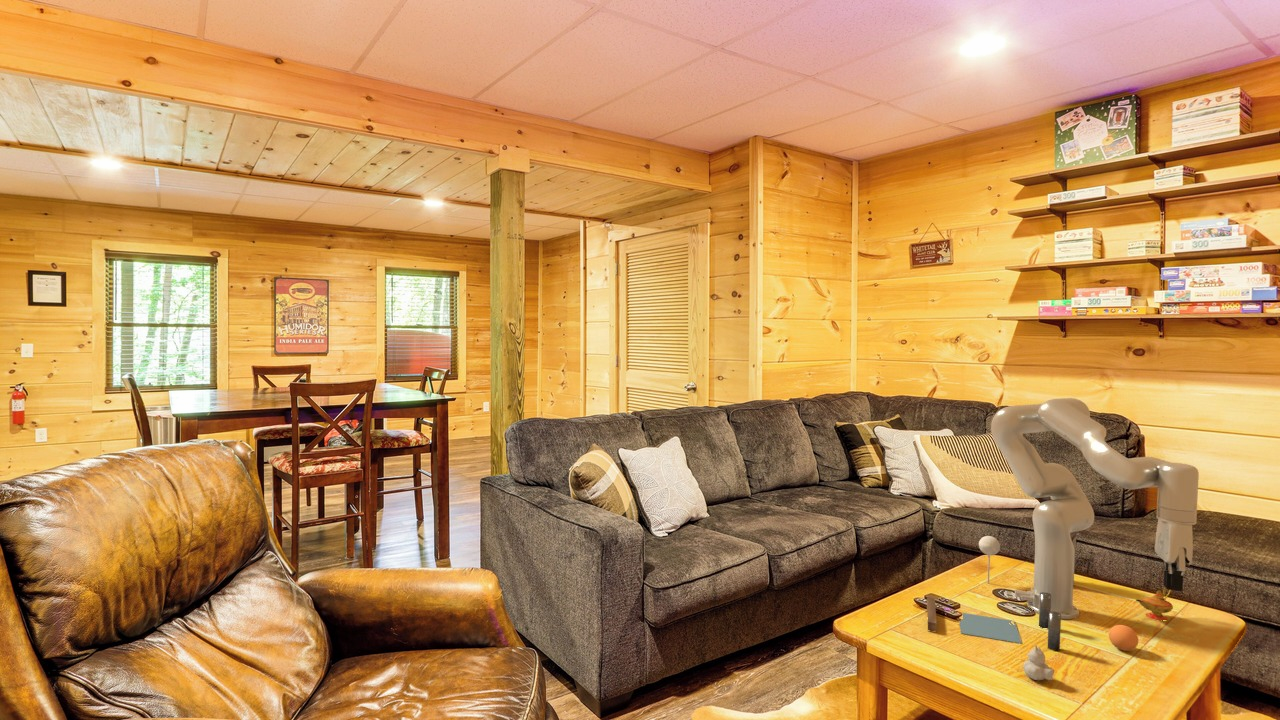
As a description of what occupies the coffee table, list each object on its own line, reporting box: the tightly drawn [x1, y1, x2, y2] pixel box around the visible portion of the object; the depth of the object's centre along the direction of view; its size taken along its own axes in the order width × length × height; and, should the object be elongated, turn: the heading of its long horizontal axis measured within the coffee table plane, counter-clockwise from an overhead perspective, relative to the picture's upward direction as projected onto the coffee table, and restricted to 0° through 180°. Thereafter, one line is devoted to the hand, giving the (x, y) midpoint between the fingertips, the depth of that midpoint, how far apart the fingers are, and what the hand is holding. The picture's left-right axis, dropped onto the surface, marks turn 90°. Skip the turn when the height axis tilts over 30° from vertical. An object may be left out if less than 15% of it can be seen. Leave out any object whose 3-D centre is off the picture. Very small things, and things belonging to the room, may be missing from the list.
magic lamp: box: [1135, 586, 1174, 622], centre depth 183 cm, size 7×18×11 cm, turn 118°
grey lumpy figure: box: [1022, 643, 1055, 681], centre depth 151 cm, size 5×7×8 cm
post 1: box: [1038, 592, 1051, 629], centre depth 177 cm, size 3×3×9 cm
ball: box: [1108, 624, 1139, 652], centre depth 165 cm, size 6×6×6 cm
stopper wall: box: [926, 596, 937, 632], centre depth 182 cm, size 2×18×2 cm, turn 157°
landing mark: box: [958, 612, 1023, 645], centre depth 177 cm, size 14×14×1 cm
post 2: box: [1047, 611, 1062, 652], centre depth 165 cm, size 3×3×9 cm
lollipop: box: [978, 535, 1001, 584], centre depth 208 cm, size 6×6×15 cm
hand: (1172, 588), depth 161 cm, fingers closed
